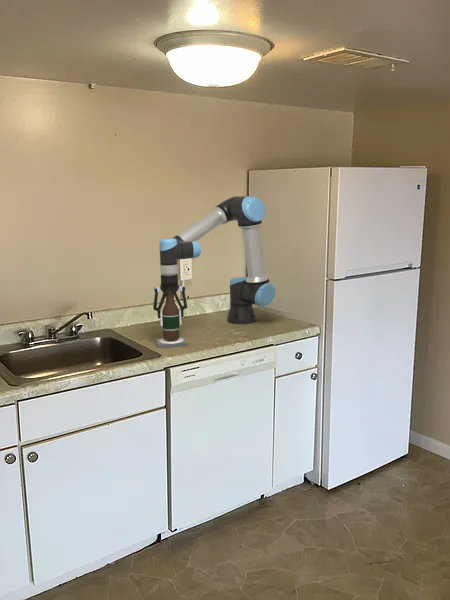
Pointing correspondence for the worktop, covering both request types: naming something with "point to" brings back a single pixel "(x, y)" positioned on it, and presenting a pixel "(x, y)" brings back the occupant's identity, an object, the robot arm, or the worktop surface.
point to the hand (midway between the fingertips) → (170, 324)
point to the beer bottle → (170, 317)
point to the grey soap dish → (171, 342)
